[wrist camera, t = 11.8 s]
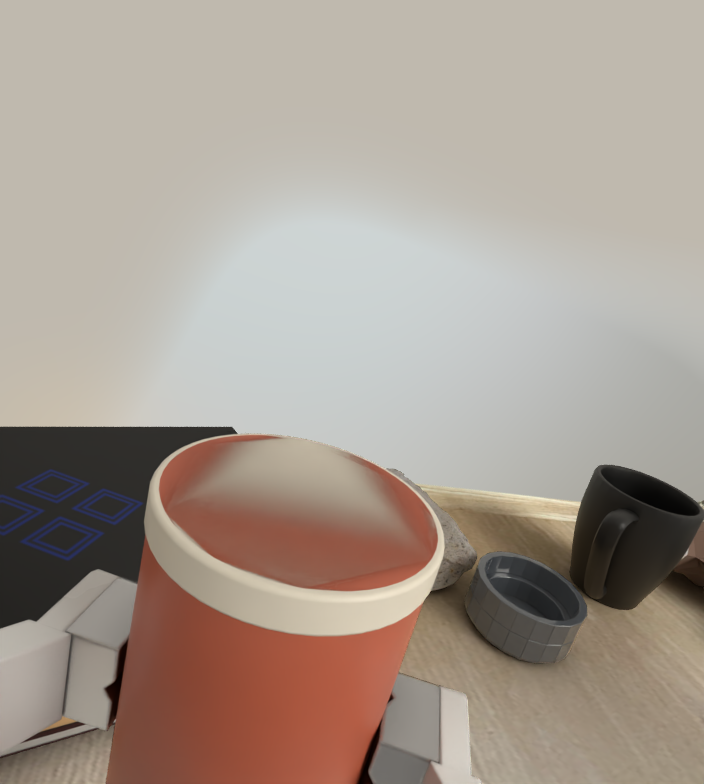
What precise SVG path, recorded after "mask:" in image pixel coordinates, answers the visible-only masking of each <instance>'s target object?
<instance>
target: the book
mask: <svg viewBox="0 0 704 784" xmlns="http://www.w3.org/2000/svg"><path fill="white" fill-rule="evenodd" d="M231 434H237V432H236V431H235V430H234V429H233V428H232V427H0V629H1V628H4V627H7V626H10V625H13V624H17V623H20V622H23V621H26V620H32V621H35V622H37V621H38V620H39V619H40V618H41V617H42V616H43V615H44V614H45V613H46V612H47V611H49V610H50V609H51V608H52V607H53V606H54V605H55V604H56V603H57V602H58V601H59V600H61V599H62V598H63V597H64V596H65V595H66V594H67V593H68V592H69V591H70V590H71V589H73V588H74V587H75V586H76V585H77V584H78V583H79V582H80V581H81V580H82V579H83V578H85V577H86V576H87V575H88V574H89V573H90V572H92V571H94V570H97V569H100V570H102V571H105V572H108V573H110V574H113V575H116V576H118V577H123V578H126V579H128V580H131V581H134V582H136V583H138V578H139V572H140V566H141V559H142V553H143V547H144V541H145V526H144V518H145V511H146V505H147V499H148V492H149V486H150V481H151V479H152V477H153V475H154V472H155V471H156V470H157V468H158V467H159V466H160V464H161V463H162V462H163V461H164V460H165V459H166V458H167V457H168V456H169V455H171V454H172V453H174V452H175V451H177V450H178V449H180V448H182V447H184V446H186V445H189V444H191V443H194V442H197V441H200V440H203V439H207V438H212V437H216V436H223V435H231ZM115 722H116V719H115V721H114V722H113V723H112V725H114V724H115ZM97 729H99V728H96V727H93V726H90V725H87V724H84V723H81V722H78V721H75V720H72V719H69V718H66V717H63V716H62V718H61V720H59V721H58V722H56V723H54V724H52V725H51V726H49V727H47V728H46V729H44V730H42V731H40V732H39V733H37V734H35V735H34V736H32V737H30V738H28V739H27V740H25V741H23V742H22V743H20V744H18V745H16V746H15V747H13V748H11V749H10V750H8V751H6V752H4V753H3V754H1V755H0V758H3V757H6V756H10V755H13V754H16V753H20V752H23V751H26V750H30V749H33V748H36V747H40V746H43V745H47V744H50V743H53V742H57V741H60V740H63V739H67V738H70V737H73V736H77V735H80V734H84V733H87V732H90V731H94V730H97Z"/></svg>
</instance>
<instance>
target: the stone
mask: <svg viewBox="0 0 704 784" xmlns="http://www.w3.org/2000/svg"><path fill="white" fill-rule="evenodd" d="M387 470H388V471H390V472H391V473H393V474H395V475H396V476H398V477H399V478H401V479H402V480H403V481H405V482H406V483H407V484H409V485H410V486H411V487H412V488H413V489H414V490H416V491H417V492H418V493H419V494H420V495H421V496H422V497H423V498H424V499H425V501H426V502H427V503H428V504H429V505H430V507H431V508H432V509H433V511H434V512H435V514H436V516H437V518H438V520H439V522H440V524H441V527H442V530H443V534H444V545H445V548H444V555H443V559H442V562H441V565H440V567H439V570H438V573H437V576H436V578H435V581H434V584H433V586H432V588H431V591H432V590H438V589H442V588H445V587H447V586H449V585H452V584H454V583H455V582H456V581H457V580H458V579H459V577H460V576H461V575H462V574H463V573H464V572H466V571H468V570H470V569H472V567H473V565H474V563H475V561H476V559H477V553H476V551H475V550H474V549H473V547H472V546H471V545H470V544H469V543H468V539H467V538H466V536H465V535H464V534H463V533H462V532H461V531H460V529H459V527H458V525H457V523H456V522H455V521H454V520H453V519H452V518H451V517H450V516H449V514H448V513H447V512H445V511H444V510H442V509H441V508H440V507H439V506H438V505H437V504H436V503H435V502H433V501H432V500H431V499H430V498H429V496H428V494H427V493H426V492H424V491H422V489H421V488H420V487H419V486H417V485H415V484H414V483H413V482H412V481H411V480H409V479H408V478H406V477H404V474H403V473H402V472H400V471H398V470H396V469H388V468H387Z"/></svg>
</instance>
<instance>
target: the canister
mask: <svg viewBox="0 0 704 784" xmlns="http://www.w3.org/2000/svg"><path fill="white" fill-rule="evenodd" d="M144 526H145V541H144V547H143V553H142V559H141V566H140V572H139V578H138V584H137V591H136V597H135V603H134V609H133V616H132V622H131V628H130V634H129V640H128V647H127V653H126V659H125V665H124V672H123V678H122V684H121V690H120V697H119V703H118V709H117V715H116V722H115V728H114V734H113V740H112V747H111V753H110V759H109V765H108V772H107V778H106V784H359V781H360V778H361V775H362V772H363V770H364V767H365V764H366V762H367V759H368V756H369V754H370V751H371V747H372V744H373V741H374V739H375V736H376V733H377V730H378V727H379V725H380V722H381V719H382V716H383V714H384V711H385V709H386V706H387V703H388V700H389V697H390V695H391V692H392V689H393V686H394V683H395V681H396V678H397V675H398V672H399V669H400V666H401V664H402V661H403V658H404V655H405V652H406V650H407V647H408V644H409V641H410V638H411V635H412V633H413V630H414V627H415V624H416V621H417V619H418V616H419V613H420V610H421V607H422V605H423V602H424V600H425V599H426V597H427V596H428V595H429V593H430V591H431V588H432V586H433V584H434V581H435V578H436V576H437V573H438V570H439V567H440V565H441V562H442V559H443V555H444V548H445V545H444V534H443V530H442V527H441V524H440V522H439V520H438V518H437V516H436V514H435V512H434V511H433V509H432V508H431V507H430V505H429V504H428V503H427V502H426V501H425V499H424V498H423V497H422V496H421V495H420V494H419V493H418V492H417V491H416V490H414V489H413V488H412V487H411V486H410V485H409V484H407V483H406V482H405V481H403V480H402V479H401V478H399V477H398V476H396V475H395V474H393V473H391V472H390V471H388V470H387V469H385V468H383V467H381V466H379V465H378V464H376V463H374V462H372V461H369V460H367V459H365V458H363V457H361V456H358V455H356V454H353V453H351V452H348V451H345V450H342V449H340V448H337V447H334V446H330V445H327V444H323V443H320V442H316V441H311V440H307V439H302V438H296V437H290V436H282V435H272V434H231V435H223V436H216V437H212V438H207V439H203V440H200V441H197V442H194V443H191V444H189V445H186V446H184V447H182V448H180V449H178V450H177V451H175V452H174V453H172V454H171V455H169V456H168V457H167V458H166V459H165V460H164V461H163V462H162V463H161V464H160V466H159V467H158V468H157V470H156V471H155V472H154V475H153V477H152V479H151V481H150V486H149V492H148V499H147V505H146V511H145V518H144Z"/></svg>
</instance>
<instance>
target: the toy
mask: <svg viewBox="0 0 704 784" xmlns="http://www.w3.org/2000/svg"><path fill="white" fill-rule="evenodd" d="M672 571H675V572H678V573H682V574H684V575H685V576H686V577H687V578H689V579H690V580H691V581H692V582H694V583H695V584H696V585H698V586H701V587H704V522H702V523H701V525H700V527H699V529H698V531H697V533H696V535H695V537H694V539H693V541H692V543H691V544H690V546H689V548H688V550H687V552H686V553H685V555H684V556H683V557H682V559H681V560H680V562H679V563H678V564H677V566H676V567H675V568H674V569H673V570H672Z"/></svg>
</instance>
